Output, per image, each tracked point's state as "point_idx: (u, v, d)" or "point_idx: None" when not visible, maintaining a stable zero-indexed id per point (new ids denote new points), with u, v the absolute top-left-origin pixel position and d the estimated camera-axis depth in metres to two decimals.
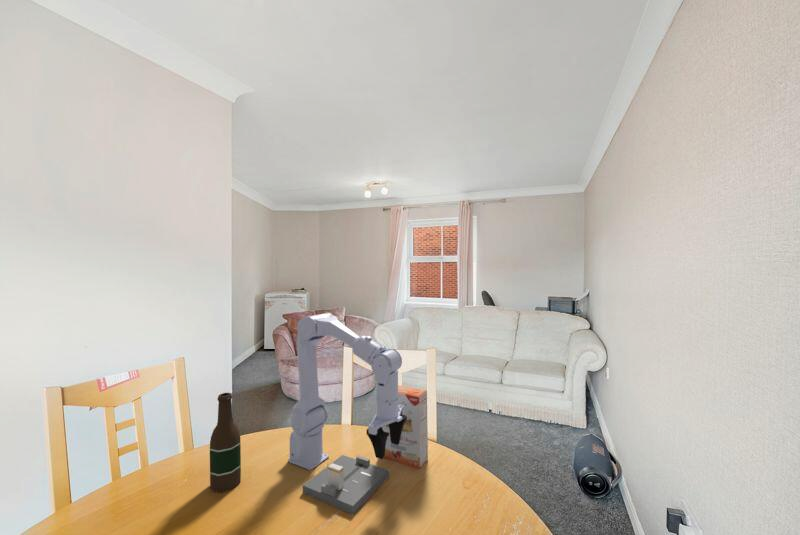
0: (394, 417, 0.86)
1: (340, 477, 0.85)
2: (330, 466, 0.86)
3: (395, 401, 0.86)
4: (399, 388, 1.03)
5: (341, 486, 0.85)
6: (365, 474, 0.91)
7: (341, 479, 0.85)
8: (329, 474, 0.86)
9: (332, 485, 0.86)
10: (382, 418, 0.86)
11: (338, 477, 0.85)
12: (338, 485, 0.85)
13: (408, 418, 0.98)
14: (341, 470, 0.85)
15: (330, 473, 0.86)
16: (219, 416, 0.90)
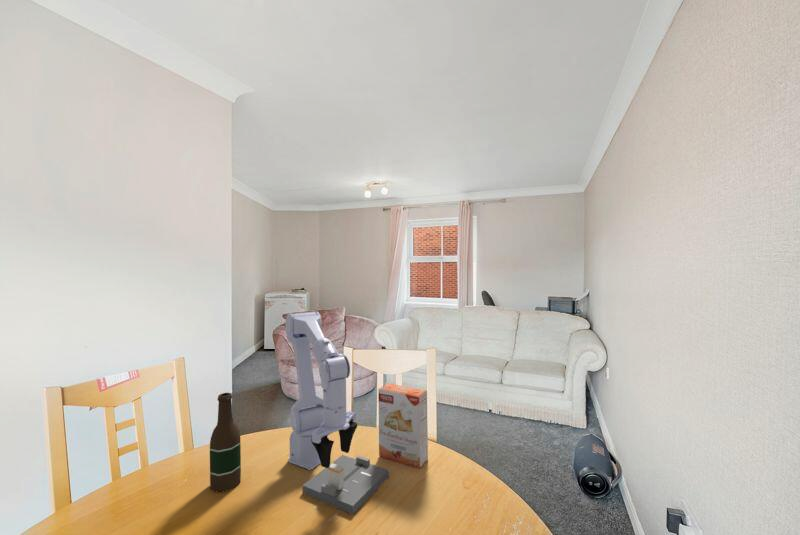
0: (341, 425, 0.84)
1: (340, 477, 0.85)
2: (330, 466, 0.86)
3: (342, 408, 0.84)
4: (399, 388, 1.03)
5: (341, 486, 0.85)
6: (365, 474, 0.91)
7: (341, 479, 0.85)
8: (329, 474, 0.86)
9: (332, 485, 0.86)
10: (328, 426, 0.84)
11: (338, 477, 0.85)
12: (338, 485, 0.85)
13: (408, 418, 0.98)
14: (341, 470, 0.85)
15: (330, 473, 0.86)
16: (219, 416, 0.90)
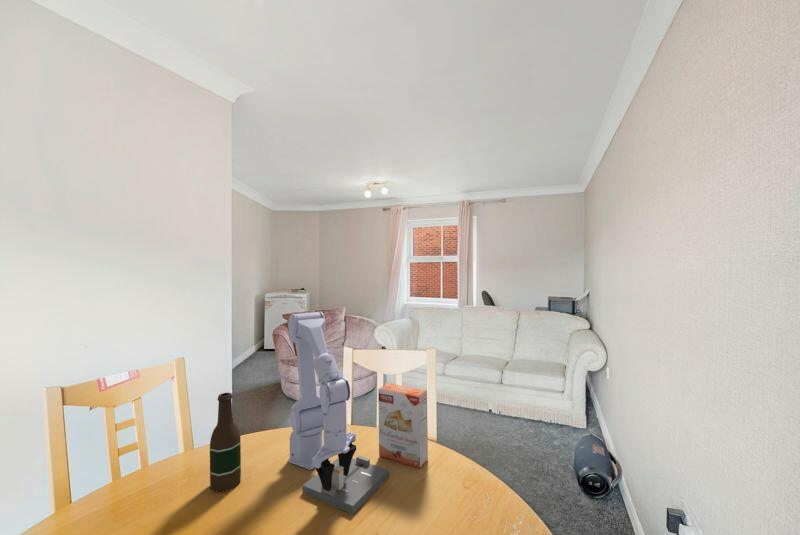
0: (341, 448, 0.84)
1: (340, 477, 0.85)
2: None
3: (342, 432, 0.84)
4: (399, 388, 1.03)
5: (341, 486, 0.85)
6: (365, 474, 0.91)
7: (341, 479, 0.85)
8: None
9: (332, 485, 0.86)
10: (328, 449, 0.84)
11: (338, 477, 0.85)
12: (338, 485, 0.85)
13: (408, 418, 0.98)
14: (341, 470, 0.85)
15: None
16: (219, 416, 0.90)
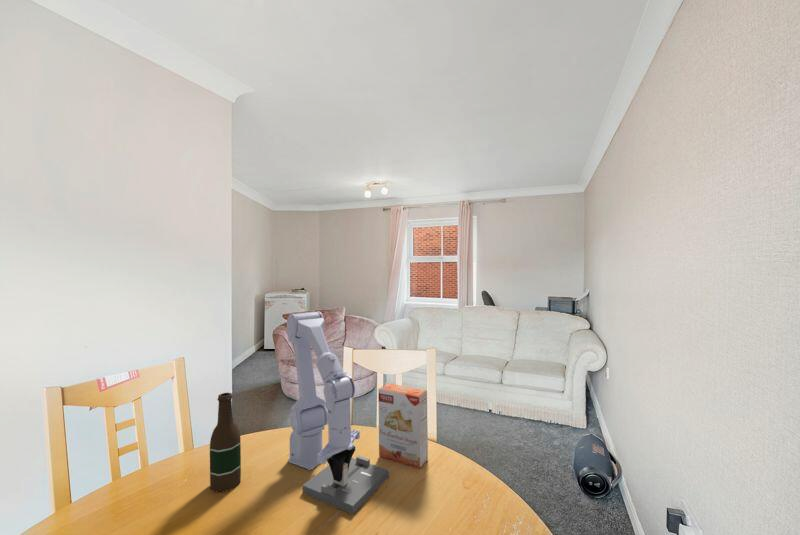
0: (345, 445, 0.86)
1: (344, 474, 0.87)
2: None
3: (346, 429, 0.86)
4: (399, 388, 1.03)
5: (345, 482, 0.87)
6: (365, 474, 0.91)
7: (345, 475, 0.87)
8: None
9: (336, 482, 0.87)
10: (333, 446, 0.85)
11: (342, 473, 0.86)
12: (342, 481, 0.86)
13: (408, 418, 0.98)
14: (345, 466, 0.87)
15: None
16: (219, 416, 0.90)
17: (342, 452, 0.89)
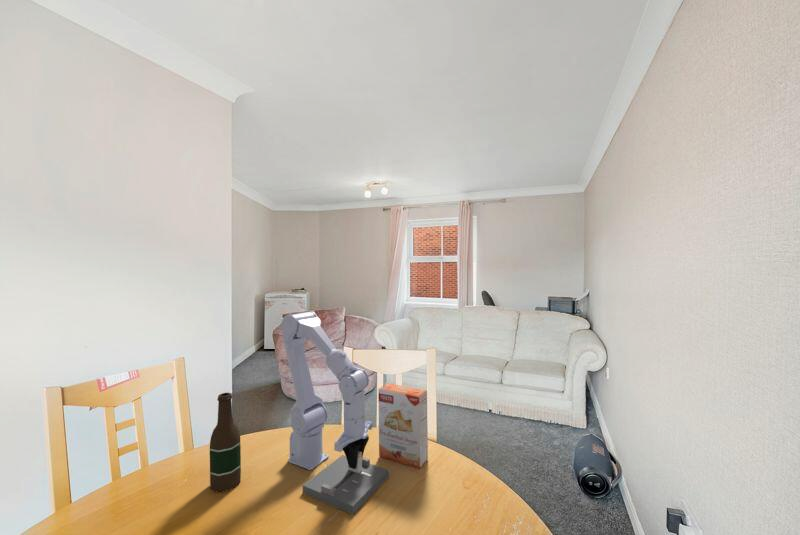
0: (360, 434, 0.91)
1: (359, 461, 0.92)
2: None
3: (361, 419, 0.91)
4: (399, 388, 1.03)
5: (360, 469, 0.92)
6: (365, 474, 0.91)
7: (360, 463, 0.92)
8: None
9: (351, 469, 0.93)
10: (348, 435, 0.91)
11: (357, 461, 0.92)
12: (357, 468, 0.92)
13: (408, 418, 0.98)
14: (360, 455, 0.92)
15: None
16: (219, 416, 0.90)
17: (356, 441, 0.94)
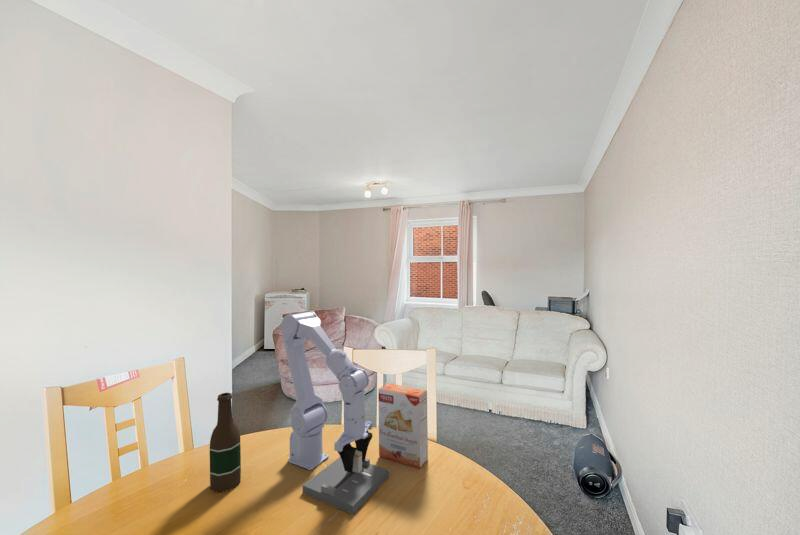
0: (360, 434, 0.91)
1: (359, 461, 0.92)
2: None
3: (361, 419, 0.91)
4: (399, 388, 1.03)
5: (360, 469, 0.92)
6: (365, 474, 0.91)
7: (360, 463, 0.92)
8: None
9: None
10: (348, 435, 0.91)
11: (357, 461, 0.92)
12: (357, 468, 0.92)
13: (408, 418, 0.98)
14: (360, 455, 0.92)
15: None
16: (219, 416, 0.90)
17: (360, 438, 0.96)
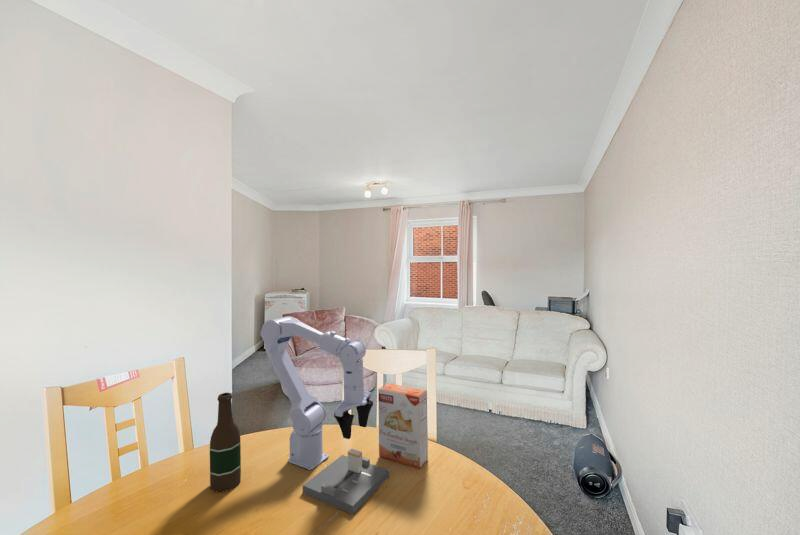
0: (359, 401, 0.96)
1: (359, 461, 0.92)
2: (349, 451, 0.93)
3: (360, 387, 0.96)
4: (399, 388, 1.03)
5: (360, 469, 0.92)
6: (365, 474, 0.91)
7: (360, 463, 0.92)
8: (349, 459, 0.93)
9: (351, 469, 0.93)
10: (348, 402, 0.95)
11: (357, 461, 0.92)
12: (357, 468, 0.92)
13: (408, 418, 0.98)
14: (360, 455, 0.92)
15: (350, 458, 0.93)
16: (219, 416, 0.90)
17: (362, 406, 1.01)
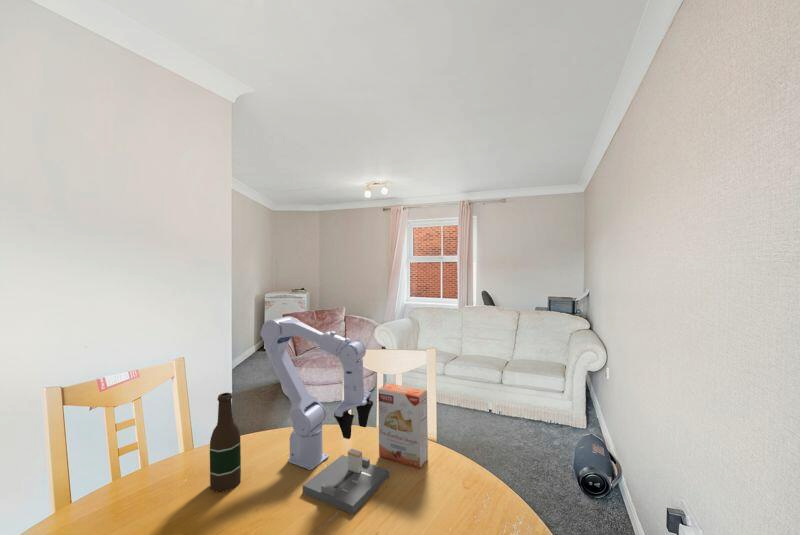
0: (359, 401, 0.96)
1: (359, 461, 0.92)
2: (349, 451, 0.93)
3: (360, 387, 0.96)
4: (399, 388, 1.03)
5: (360, 469, 0.92)
6: (365, 474, 0.91)
7: (360, 463, 0.92)
8: (349, 459, 0.93)
9: (351, 469, 0.93)
10: (348, 402, 0.95)
11: (357, 461, 0.92)
12: (357, 468, 0.92)
13: (408, 418, 0.98)
14: (360, 455, 0.92)
15: (350, 458, 0.93)
16: (219, 416, 0.90)
17: (362, 406, 1.01)
